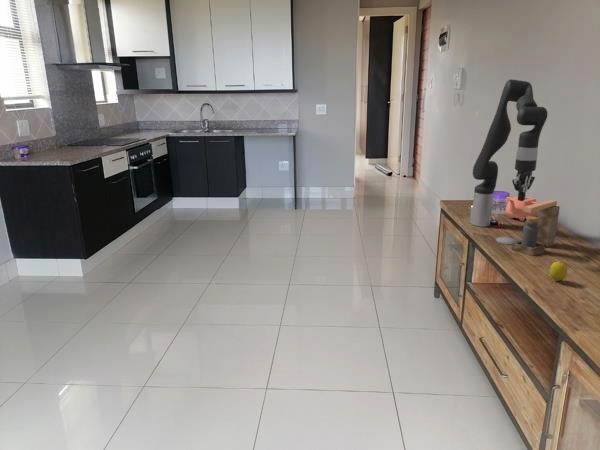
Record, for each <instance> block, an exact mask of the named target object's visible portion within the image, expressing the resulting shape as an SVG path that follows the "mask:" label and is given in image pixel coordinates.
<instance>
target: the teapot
mask: <svg viewBox="0 0 600 450" xmlns="http://www.w3.org/2000/svg"><path fill="white" fill-rule="evenodd" d="M505 200H506V203H507V204H506V208H505V216H508V218H509V219H511V220H513V219H515V218H516V219H519V222H525V221H526V220H527V218H526V217H528V216H533V217H536V214H537V211H535V212H532V213H529V212H524V207H526V206H529V205H533V204H536V203H538V202H537V198H535V197H532V196H527V195H526V194H525V200H524V201H519V200H518V195H517V196H513V197H512V196H507V197H506V198H505ZM525 219H526V220H525Z"/></svg>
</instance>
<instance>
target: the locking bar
mask: <svg viewBox="0 0 600 450" xmlns="http://www.w3.org/2000/svg"><path fill="white" fill-rule="evenodd" d="M557 204H558V201H557V200H555V199H548V200H544V201H540V202H537V203H536V204H533V205H529V206H526V207H524V212H529V213H532V212H535V211H536V212H538V211H539V210H542V209H545V208H549V207H552V206H558V205H557Z"/></svg>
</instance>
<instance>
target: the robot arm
mask: <svg viewBox="0 0 600 450" xmlns="http://www.w3.org/2000/svg"><path fill="white" fill-rule="evenodd" d="M533 92H534V91H533V86H532V84H531V83H530V82H529V81H526V80H518V79H513V78H512V79H511V78H510V79H508V80H507V81H506V82H505V84H504V87H503V89H502V92H501V96H500V99H499V103H498V104H497V105H498V106H497V108H496V111H495V115H494V117H493V119H492V122H491V124H490V126H489V130H488V132H487V135H486V138H485V140H484V143H483V145H482V148H481V150H480V153H479V155H478V157H477V159H476V161H475V163H474V165H473V167H472V177H473V178H474V179H475V180H477V181H478V180H479V181H482V180H483V181H482V182H481V183H479V184H477V185H476V186H475V187H474V191H473V192H474V194H473V202H472V203H473V204H472V205H471V207H470V215H469V224H471V225H473V226H476V227H483V228H484V227H490V225H491V219H492V210H493V202H494V193H495V189H496V186H497V182H498V181H497V180H498V174H499V167H498V163H497V162H496V161H493V160H492V161H491V158H492V157H493V156H494V155H495V154H496V153H497V152H498V151H499V150H500V149H501V148H503V146H504V145H505V144H506V143H507V140H508V139H509V136H510V133H511V131H512V126H511V121H510V118H509V114H508V108H507V107H508V103H509V102H513V103H516V104H515V105H516V106H515V107H516V110H517V115H516V121H517V124H519V125H520V126H533V127H532V129H530V130H527V131H522V132H520V134H519V137H518V145H517V149H516V150H517V151H516V156H515V164H514V169H515V171H517V173H516V176H515V177H516V178H515V179H512V181H511V182H512V185H513V187H514V190H515V191H517V192H518V194H517V196H518V200H519V201H524V200H525V195H526V193H527V191H529V190H530V189H531V187H532V185H533V183H534V181H535V179H536V177H535V176H532V175H533V172H535V171H536V168H537V161H538V155H539V154H538V153H539V152H538V151H539V150H538V148H539V142H540V137H541V133H542V130H543V128H544V126H545V123H546V121H547V118H548V115H549V113H548V110H547V108H545V107H543V106H538V104H537V103H536V101H535V99H534V93H533Z"/></svg>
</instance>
